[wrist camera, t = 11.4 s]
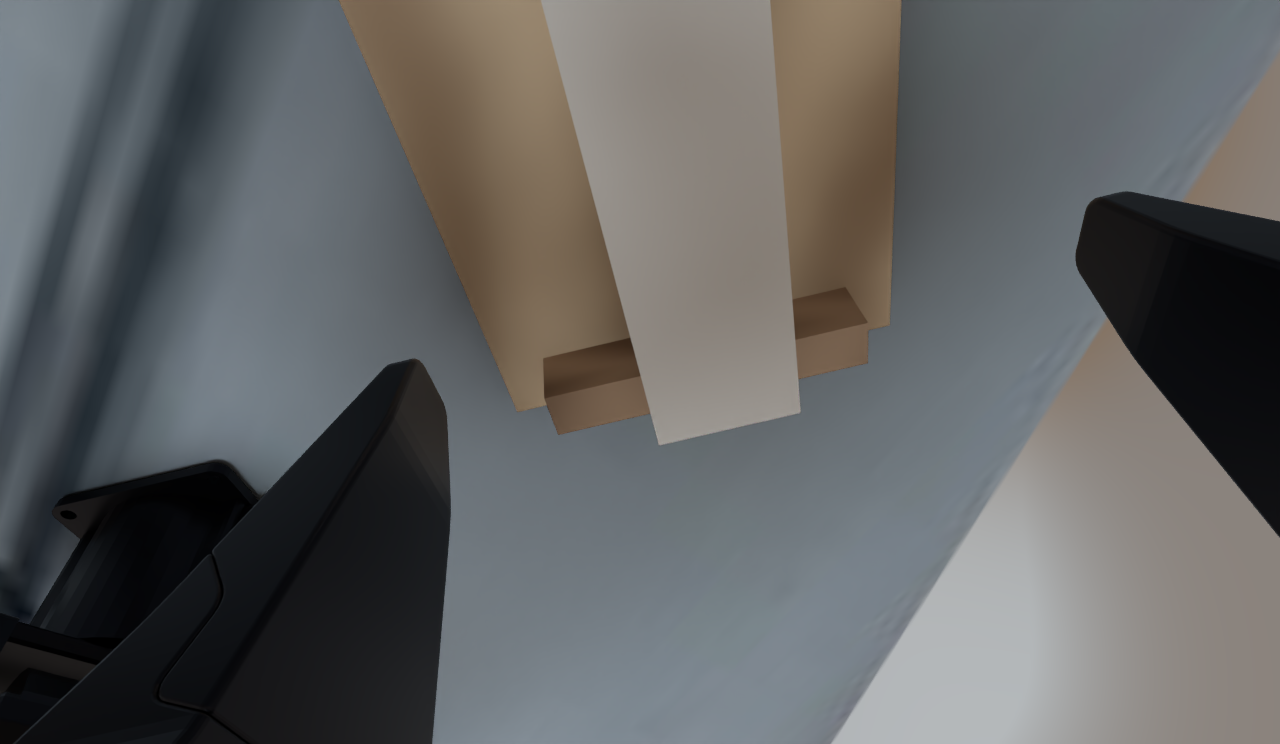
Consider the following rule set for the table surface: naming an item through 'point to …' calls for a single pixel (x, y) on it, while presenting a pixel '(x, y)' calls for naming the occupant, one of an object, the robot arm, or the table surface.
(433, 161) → the wooden tray
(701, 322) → the white rectangular block
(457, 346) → the table surface
